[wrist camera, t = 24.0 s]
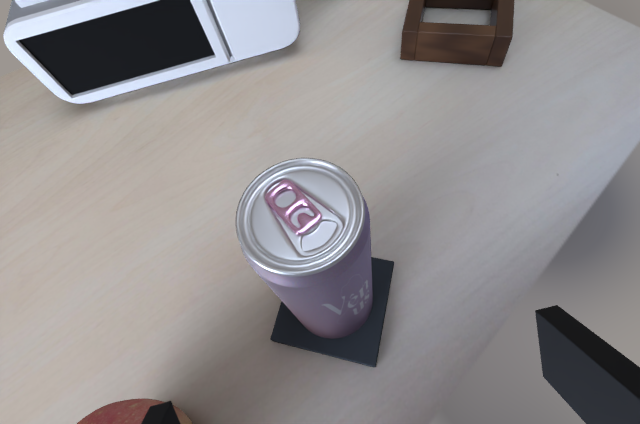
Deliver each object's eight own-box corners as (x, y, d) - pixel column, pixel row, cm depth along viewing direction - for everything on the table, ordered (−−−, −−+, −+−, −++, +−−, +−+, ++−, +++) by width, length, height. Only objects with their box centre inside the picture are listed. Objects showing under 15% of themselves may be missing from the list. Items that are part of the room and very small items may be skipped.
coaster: (394, 263, 31) (394, 261, 30) (375, 367, 27) (375, 366, 27) (299, 245, 32) (298, 243, 32) (271, 340, 29) (269, 339, 29)
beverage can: (338, 248, 31) (309, 131, 18) (389, 303, 29) (400, 213, 15) (280, 296, 30) (205, 208, 17) (329, 357, 27) (284, 311, 14)
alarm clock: (75, 116, 43) (-20, 24, 33) (81, 62, 48) (-3, -34, 37) (306, 51, 43) (283, -62, 33) (289, 3, 48) (265, -111, 37)
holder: (506, 1, 43) (516, -30, 40) (501, 66, 38) (512, 37, 35) (413, -2, 45) (416, -32, 42) (400, 59, 41) (402, 31, 38)
